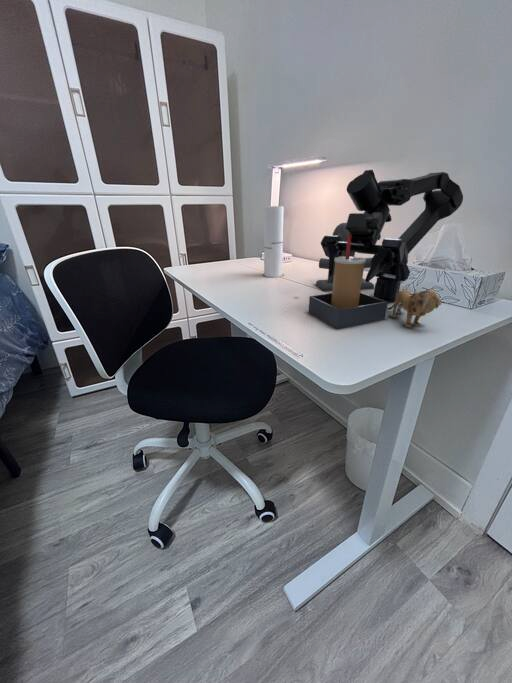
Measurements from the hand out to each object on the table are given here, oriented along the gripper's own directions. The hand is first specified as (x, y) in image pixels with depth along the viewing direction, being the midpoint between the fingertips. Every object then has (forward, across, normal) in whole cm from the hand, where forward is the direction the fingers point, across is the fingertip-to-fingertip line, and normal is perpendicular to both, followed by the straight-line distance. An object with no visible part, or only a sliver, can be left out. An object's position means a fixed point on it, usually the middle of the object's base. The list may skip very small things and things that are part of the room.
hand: (347, 278), depth 68 cm
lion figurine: (+2, +13, +12) cm, 18 cm away
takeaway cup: (+5, -1, +8) cm, 10 cm away
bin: (+6, 0, +9) cm, 10 cm away
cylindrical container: (-13, -42, +28) cm, 52 cm away
